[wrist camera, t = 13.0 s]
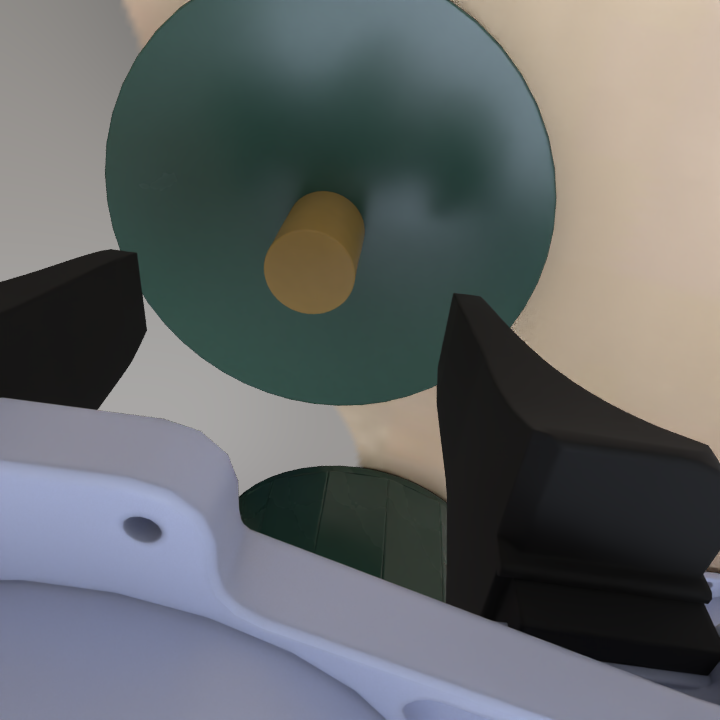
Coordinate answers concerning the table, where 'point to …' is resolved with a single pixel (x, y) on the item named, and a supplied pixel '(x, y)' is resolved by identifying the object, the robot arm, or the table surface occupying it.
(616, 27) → the table surface
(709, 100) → the table surface
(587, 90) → the table surface
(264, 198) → the lid
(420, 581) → the tin
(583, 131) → the table surface
